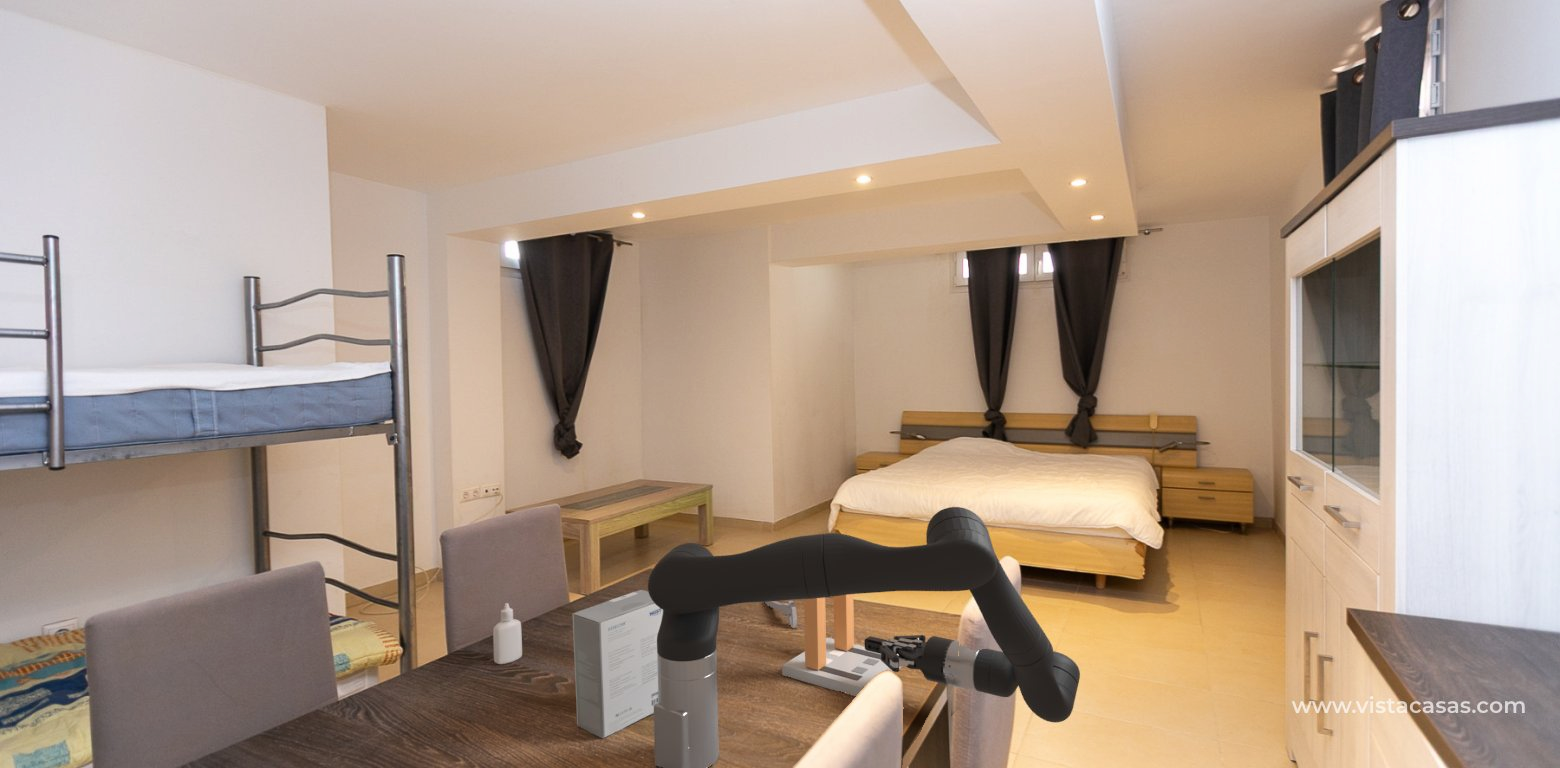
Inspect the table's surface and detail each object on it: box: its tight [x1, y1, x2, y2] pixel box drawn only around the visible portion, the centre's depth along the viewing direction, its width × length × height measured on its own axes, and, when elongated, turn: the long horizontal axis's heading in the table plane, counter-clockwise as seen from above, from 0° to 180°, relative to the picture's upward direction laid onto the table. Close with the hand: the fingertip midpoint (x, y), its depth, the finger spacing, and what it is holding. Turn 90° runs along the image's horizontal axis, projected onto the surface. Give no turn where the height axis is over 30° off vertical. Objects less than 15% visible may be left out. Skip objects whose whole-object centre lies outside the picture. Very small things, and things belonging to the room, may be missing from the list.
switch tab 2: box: [833, 594, 855, 651], centre depth 150 cm, size 3×3×14 cm
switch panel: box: [781, 637, 902, 697], centre depth 144 cm, size 17×18×2 cm
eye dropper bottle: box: [492, 602, 523, 665], centre depth 152 cm, size 4×6×12 cm
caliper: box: [764, 600, 798, 629], centre depth 177 cm, size 20×1×6 cm, turn 21°
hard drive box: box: [572, 589, 663, 739], centre depth 127 cm, size 16×8×20 cm, turn 141°
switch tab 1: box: [803, 597, 827, 670], centre depth 141 cm, size 3×3×14 cm
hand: (866, 642), depth 135 cm, fingers closed
